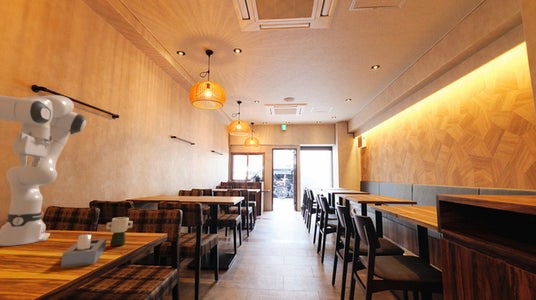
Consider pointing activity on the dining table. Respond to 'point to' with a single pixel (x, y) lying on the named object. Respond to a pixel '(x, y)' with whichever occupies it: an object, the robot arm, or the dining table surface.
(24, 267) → the dining table surface
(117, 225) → the character mug
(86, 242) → the steel pin
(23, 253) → the dining table surface
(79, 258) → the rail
